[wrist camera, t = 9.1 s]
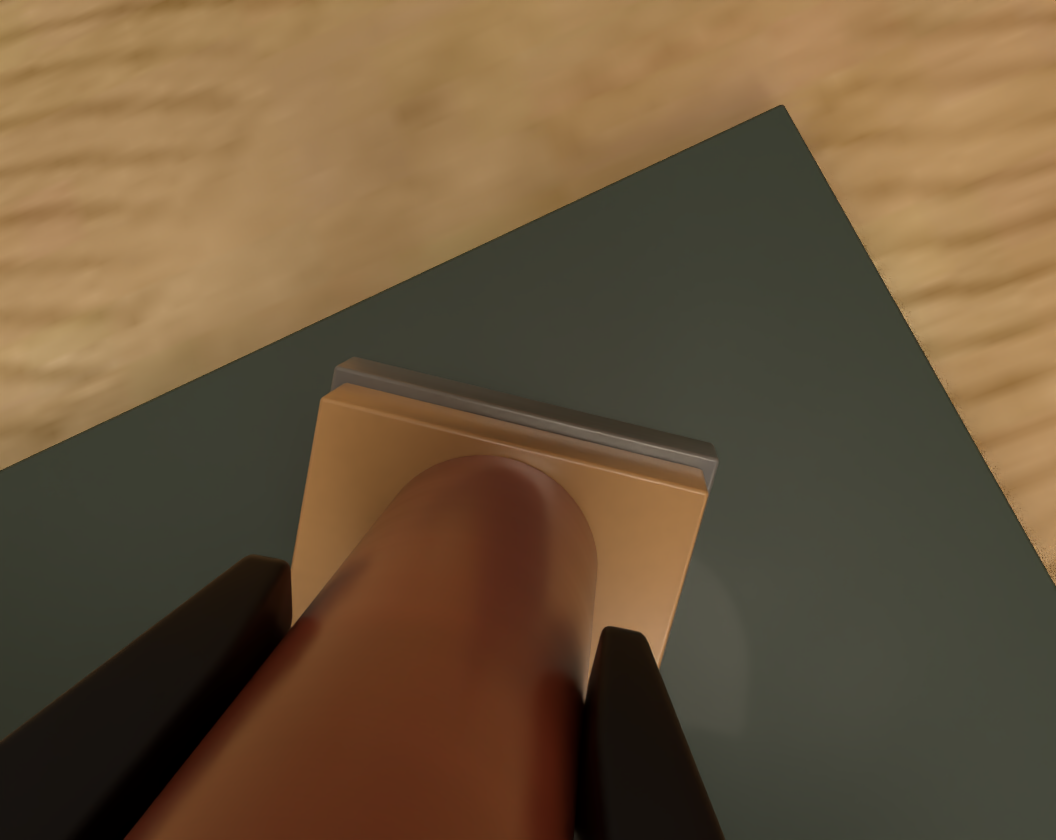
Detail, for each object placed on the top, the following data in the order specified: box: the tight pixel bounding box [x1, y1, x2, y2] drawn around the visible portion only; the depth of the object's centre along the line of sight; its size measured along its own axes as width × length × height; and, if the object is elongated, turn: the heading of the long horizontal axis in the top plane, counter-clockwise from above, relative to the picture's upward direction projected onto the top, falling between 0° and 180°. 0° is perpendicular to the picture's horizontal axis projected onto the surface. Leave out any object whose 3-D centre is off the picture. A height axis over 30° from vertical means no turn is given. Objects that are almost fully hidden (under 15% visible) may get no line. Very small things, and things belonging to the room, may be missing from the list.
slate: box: [0, 105, 1056, 840], centre depth 16 cm, size 20×16×1 cm
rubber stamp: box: [123, 357, 719, 840], centre depth 10 cm, size 6×4×13 cm, turn 76°
